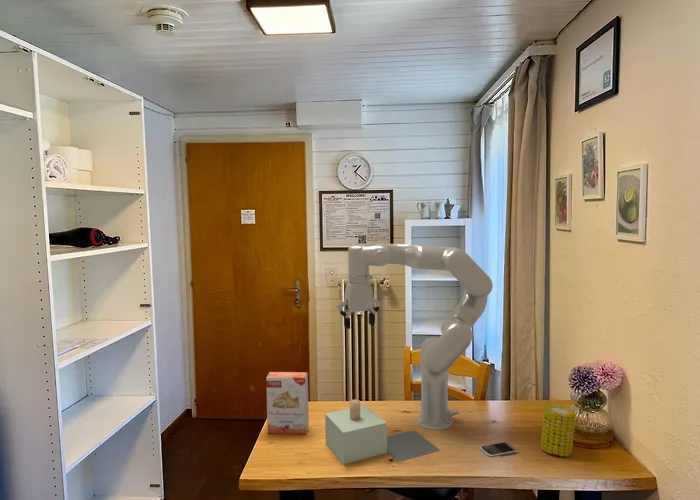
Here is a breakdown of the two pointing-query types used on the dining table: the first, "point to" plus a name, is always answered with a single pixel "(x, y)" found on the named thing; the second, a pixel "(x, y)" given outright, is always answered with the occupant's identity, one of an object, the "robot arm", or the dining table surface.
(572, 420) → the food
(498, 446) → the cell phone
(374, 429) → the pale green box
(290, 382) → the cracker box
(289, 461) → the dining table surface
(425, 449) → the mat
